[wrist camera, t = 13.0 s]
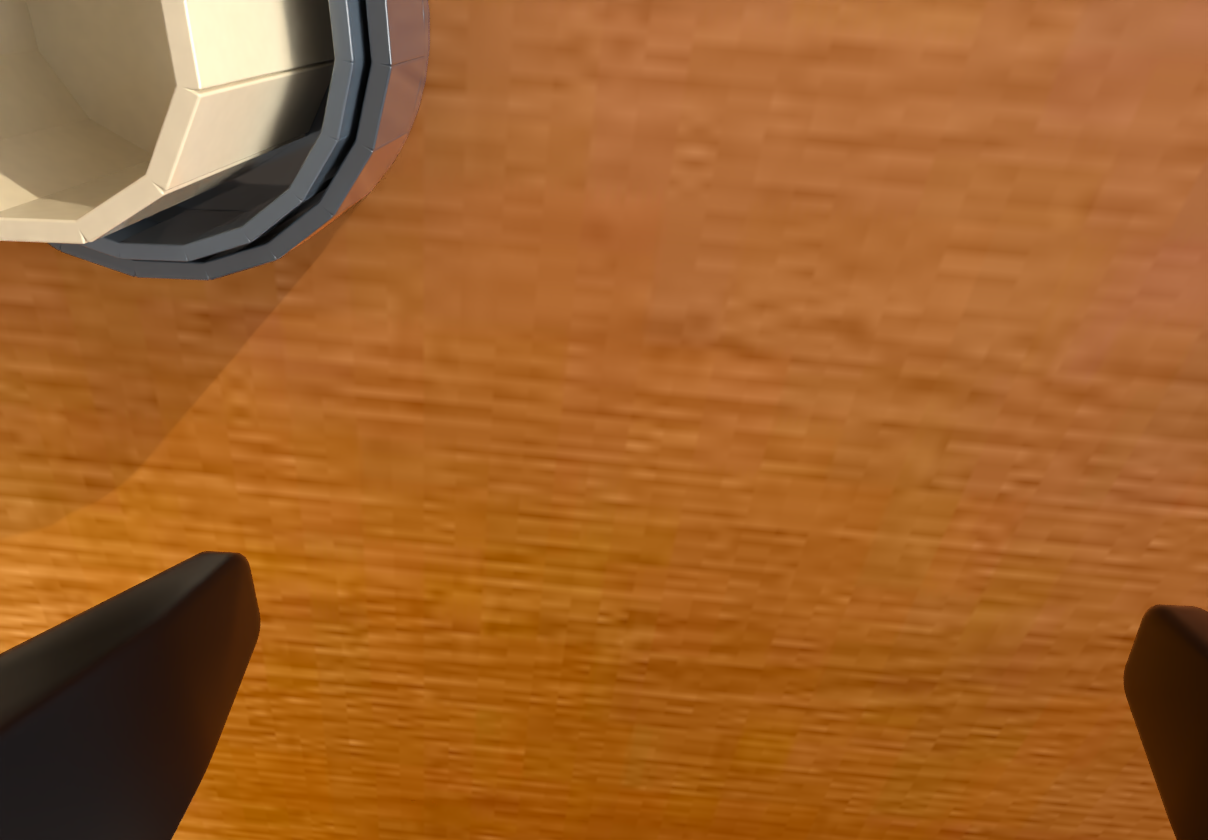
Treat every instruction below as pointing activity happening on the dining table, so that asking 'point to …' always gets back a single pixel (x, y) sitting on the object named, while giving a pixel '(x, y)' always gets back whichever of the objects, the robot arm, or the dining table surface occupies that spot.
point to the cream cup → (146, 104)
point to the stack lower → (379, 139)
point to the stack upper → (265, 169)
